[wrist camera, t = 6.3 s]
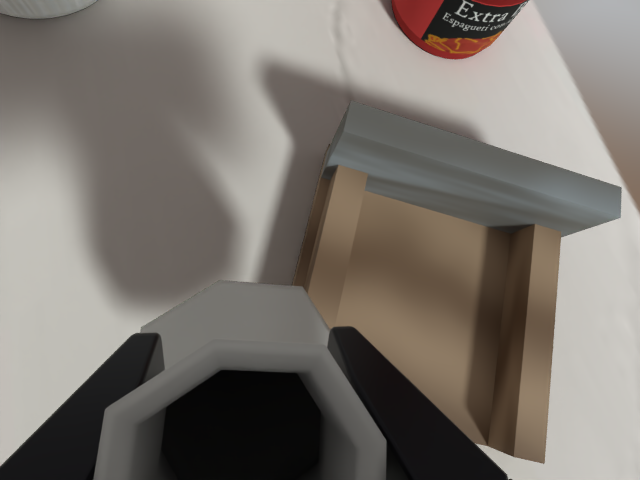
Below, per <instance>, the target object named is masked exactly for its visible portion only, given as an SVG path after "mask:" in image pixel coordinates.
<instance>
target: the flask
mask: <svg viewBox="0 0 640 480" xmlns="http://www.w3.org/2000/svg"><path fill="white" fill-rule="evenodd" d="M153 332H156V333H158V334H160V336H161V339H162V347H163V356H164V365H165V370H164V371H163V372H161V373H160V374H158V375H157V376H155V377H153V378H152V379H150V380H149V381H147V382H146V383H144V384H143V385H141V386H139V387H138V388H136V389H135V390H133V391H132V392H130V393H129V394H127V395H125V396H124V397H122V398H121V399H119V400H118V401H116V402H115V403H113V404H111V405H110V406H109V407H107V408H106V409H105V412H104V419H103V425H102V431H101V437H100V443H99V449H98V455H97V461H96V467H95V473H94V479H93V480H386V443H387V441H386V439H385V438H384V436H383V434H382V433H381V431H380V430H379V428H378V427H377V425H376V424H375V422H374V420H373V419H372V417H371V416H370V414H369V413H368V411H367V409H366V408H365V406H364V405H363V403H362V402H361V400H360V399H359V397H358V395H357V394H356V392H355V391H354V389H353V388H352V386H351V384H350V383H349V381H348V380H347V378H346V377H345V375H344V374H343V372H342V370H341V369H340V367H339V366H338V364H337V363H336V361H335V359H334V358H333V356H332V355H331V353H330V352H329V350H328V349H327V345H328V338H329V332H330V328H329V327H328V325H327V324H326V322H325V321H324V319H323V317H322V316H321V314H320V313H319V311H318V310H317V308H316V307H315V305H314V304H313V302H312V300H311V299H310V297H309V296H308V294H307V293H306V291H305V290H304V288H303V287H302V286H289V285H276V284H263V283H250V282H237V281H224V280H219V281H217V282H216V283H214V284H212V285H211V286H209V287H207V288H206V289H204V290H202V291H201V292H199V293H197V294H196V295H194V296H192V297H191V298H189V299H187V300H186V301H184V302H183V303H181V304H179V305H178V306H176V307H174V308H173V309H171V310H169V311H168V312H166V313H164V314H163V315H161V316H159V317H158V318H156V319H154V320H153V321H151V322H149V323H148V324H146V325H144V326H143V327H141V332H140V333H153Z"/></svg>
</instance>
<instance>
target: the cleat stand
mask: <svg viewBox="0 0 640 480" xmlns="http://www.w3.org/2000/svg"><path fill="white" fill-rule="evenodd" d="M621 188H622V187H619V186H616V185H613V184H609V183H606V182H603V181H600V180H597V179H594V178H591V177H588V176H585V175H581V174H578V173H575V172H572V171H569V170H566V169H563V168H560V167H557V166H554V165H550V164H547V163H544V162H541V161H538V160H535V159H532V158H529V157H526V156H522V155H519V154H516V153H513V152H510V151H507V150H504V149H501V148H498V147H495V146H491V145H488V144H485V143H482V142H479V141H476V140H473V139H470V138H467V137H463V136H460V135H457V134H454V133H451V132H448V131H445V130H442V129H439V128H435V127H432V126H429V125H426V124H423V123H420V122H417V121H414V120H411V119H408V118H404V117H401V116H398V115H395V114H392V113H389V112H386V111H383V110H380V109H376V108H373V107H370V106H367V105H364V104H361V103H358V102H355V101H352V100H351V102H350V104H349V106H348V108H347V110H346V112H345V115H344V117H343V119H342V121H341V123H340V126H339V128H338V130H337V132H336V134H335V136H334V139H333V141H332V143H331V145H330V144H329V146H328V148H327V150H326V153H325V157H324V160H323V164H322V168H321V172H320V176H319V180H318V184H317V188H316V192H315V196H314V200H313V204H312V208H311V212H310V216H309V220H308V224H307V228H306V232H305V236H304V240H303V244H302V248H301V251H300V255H299V259H298V263H297V267H296V271H295V275H294V279H293V283H292V286H302V287H303V288H304V290H305V291H306V293H307V294H308V296H309V297H310V299H311V300H312V302H313V304H314V305H315V307H316V308H317V310H318V311H319V313H320V314H321V316H322V317H323V319H324V321H325V322H326V324H327V325H328V327H329V328H330V330H331V328H333V327H337V326H352V327H354V328H356V329H357V330H358V331H359V332H360V333H361V334H362V335H363V336H364V337H365V338H366V339H367V340H368V341H369V342H370V343H371V344H372V345H373V346H374V347H376V348H377V349H378V350H379V351H380V352H381V353H382V354H383V355H384V356H385V357H386V358H387V359H388V360H389V361H390V362H391V363H392V364H393V365H394V366H395V367H396V368H397V369H398V370H399V371H400V372H401V373H402V374H403V375H404V376H406V377H407V378H408V379H409V380H410V381H411V382H412V383H413V384H414V385H415V386H416V387H417V388H418V389H419V390H420V391H421V392H422V393H423V394H424V395H425V396H426V397H427V398H428V399H429V400H430V401H431V402H432V403H433V404H435V405H436V406H437V407H438V408H439V409H440V410H441V411H442V412H443V413H444V414H445V415H446V416H447V417H448V418H449V419H450V420H451V421H452V422H453V423H454V424H455V425H456V426H457V427H458V428H459V429H460V430H461V431H462V432H464V433H465V434H466V435H467V436H468V437H469V438H470V439H471V440H472V441H473V442H474V443H476V444H481V445H485V446H489V447H491V448H494V449H496V450H498V451H501V452H503V453H506V454H508V455H511V456H513V457H517V458H521V459H526V460H530V461H534V462H539V463H543V464H544V463H545V449H546V435H547V422H548V408H549V394H550V380H551V366H552V353H553V339H554V325H555V311H556V297H557V283H558V270H559V256H560V242H561V237H563V236H567V235H570V234H573V233H576V232H579V231H582V230H585V229H588V228H591V227H594V226H597V225H600V224H603V223H606V222H609V221H612V220H615V219H618V218H621Z"/></svg>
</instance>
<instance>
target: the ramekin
mask: <svg viewBox="0 0 640 480" xmlns="http://www.w3.org/2000/svg"><path fill="white" fill-rule="evenodd" d="M96 1H97V0H0V13H1V14H6V15H10V16H15V17H21V18H31V19H45V18H54V17H60V16H64V15H68V14H71V13H75V12H77V11H80V10H82V9H84V8H86V7H88V6H90V5H92V4H93V3H95V2H96Z"/></svg>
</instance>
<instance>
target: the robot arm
mask: <svg viewBox="0 0 640 480" xmlns="http://www.w3.org/2000/svg"><path fill="white" fill-rule="evenodd" d="M327 349H328V350H329V352H330V353H331V355H332V356H333V358H334V359H335V361H336V363H337V364H338V366H339V367H340V369H341V370H342V372H343V374H344V375H345V377H346V378H347V380H348V381H349V383H350V384H351V386H352V388H353V389H354V391H355V392H356V394H357V395H358V397H359V399H360V400H361V402H362V403H363V405H364V406H365V408H366V409H367V411H368V413H369V414H370V416H371V417H372V419H373V420H374V422H375V424H376V425H377V427H378V428H379V430H380V431H381V433H382V434H383V436H384V438H385V439H386V441H387V443H386V480H508V477H507V474H506V473H505V472H504V471H503V470H502V469H501V468H500V467H499V466H498V465H497V464H496V463H495V462H494V461H492V460H491V459H490V458H489V457H488V456H487V455H486V454H485V453H484V452H483V451H482V450H481V449H480V448H479V447H478V446H477V445H476V444H475V443H474V442H473V441H472V440H471V439H470V438H469V437H468V436H467V435H466V434H465V433H464V432H462V431H461V430H460V429H459V428H458V427H457V426H456V425H455V424H454V423H453V422H452V421H451V420H450V419H449V418H448V417H447V416H446V415H445V414H444V413H443V412H442V411H441V410H440V409H439V408H438V407H437V406H436V405H435V404H433V403H432V402H431V401H430V400H429V399H428V398H427V397H426V396H425V395H424V394H423V393H422V392H421V391H420V390H419V389H418V388H417V387H416V386H415V385H414V384H413V383H412V382H411V381H410V380H409V379H408V378H407V377H406V376H404V375H403V374H402V373H401V372H400V371H399V370H398V369H397V368H396V367H395V366H394V365H393V364H392V363H391V362H390V361H389V360H388V359H387V358H386V357H385V356H384V355H383V354H382V353H381V352H380V351H379V350H378V349H377V348H376V347H374V346H373V345H372V344H371V343H370V342H369V341H368V340H367V339H366V338H365V337H364V336H363V335H362V334H361V333H360V332H359V331H358V330H357V329H356V328H354V327H352V326H337V327H333V328H331V330H330V332H329V338H328V345H327ZM164 370H165V365H164V356H163V347H162V339H161V336H160V334H158V333H156V332H153V333H135V334H133V335H132V336H130V337H129V338H128V339H127V340H126V341H125V342H124V343H123V344H122V345H121V346H120V347H119V348H118V349H117V350H116V351H115V352H114V353H113V354H112V355H111V356H110V357H109V358H108V359H107V360H106V361H105V362H104V363H103V364H102V365H101V366H100V367H99V368H98V369H97V370H96V371H95V372H94V373H93V374H92V375H91V376H90V377H89V378H88V379H87V380H86V381H85V382H84V383H83V384H82V385H81V386H80V387H79V388H78V389H77V390H76V391H75V392H74V393H73V394H72V395H71V396H70V397H69V398H68V399H67V400H66V401H65V402H64V403H63V404H62V405H61V406H60V407H59V408H58V409H57V410H56V411H55V412H54V413H53V414H52V415H51V416H50V417H49V418H48V419H47V420H46V421H45V422H44V423H43V424H42V425H41V426H40V427H39V428H38V429H37V430H36V431H35V432H34V433H33V434H32V435H31V436H30V437H29V438H28V439H27V440H26V441H25V442H24V443H23V444H22V445H21V446H20V447H19V448H18V449H17V450H16V451H15V452H14V453H13V454H12V455H11V456H10V457H9V458H8V459H7V460H6V461H5V462H4V463H3V464H2V465H1V466H0V480H93V479H94V473H95V467H96V461H97V455H98V449H99V443H100V437H101V431H102V425H103V419H104V412H105V409H106V408H107V407H109V406H110V405H111V404H113V403H115V402H116V401H118V400H119V399H121V398H122V397H124V396H125V395H127V394H129V393H130V392H132V391H133V390H135V389H136V388H138V387H139V386H141V385H143V384H144V383H146V382H147V381H149V380H150V379H152V378H153V377H155V376H157V375H158V374H160V373H161V372H163V371H164ZM509 480H512V479H509Z"/></svg>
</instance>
